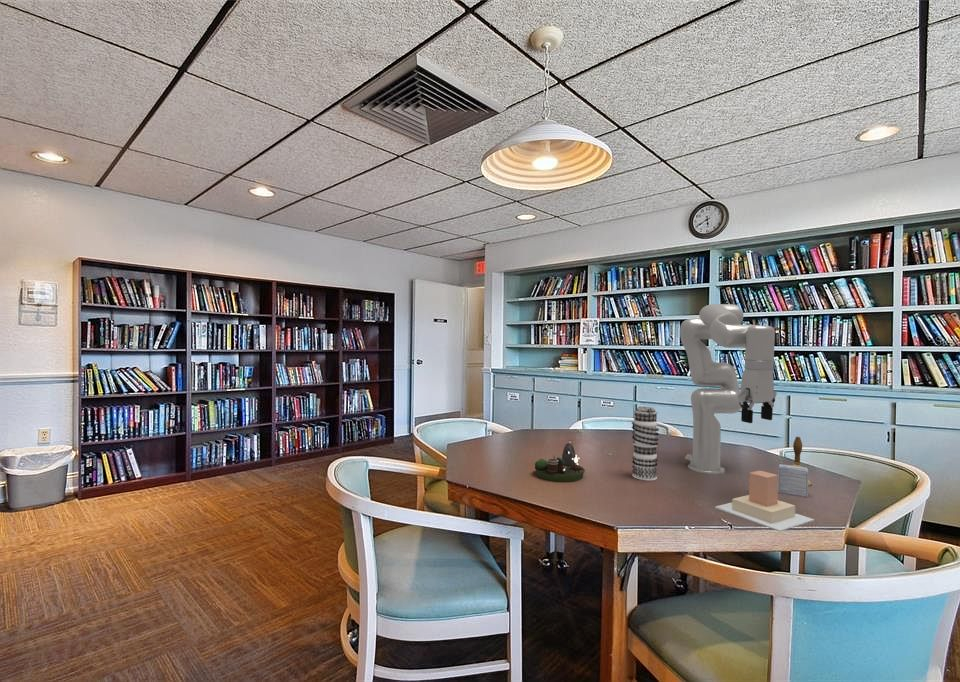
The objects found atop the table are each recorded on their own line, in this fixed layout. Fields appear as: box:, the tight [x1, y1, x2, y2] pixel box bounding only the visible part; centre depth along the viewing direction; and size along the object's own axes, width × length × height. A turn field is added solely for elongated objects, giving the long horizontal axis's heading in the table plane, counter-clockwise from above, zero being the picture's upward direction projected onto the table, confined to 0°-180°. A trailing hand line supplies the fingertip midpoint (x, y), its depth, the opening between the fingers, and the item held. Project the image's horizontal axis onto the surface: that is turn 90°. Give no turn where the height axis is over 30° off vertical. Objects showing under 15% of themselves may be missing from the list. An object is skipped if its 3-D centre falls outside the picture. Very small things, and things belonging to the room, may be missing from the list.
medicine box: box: [777, 463, 809, 498], centre depth 145 cm, size 8×4×9 cm, turn 56°
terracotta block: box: [748, 470, 779, 507], centre depth 126 cm, size 5×5×8 cm
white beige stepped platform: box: [714, 494, 815, 532], centre depth 126 cm, size 18×16×4 cm
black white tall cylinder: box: [631, 406, 660, 481], centre depth 161 cm, size 9×9×25 cm
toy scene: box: [534, 442, 586, 483], centre depth 163 cm, size 18×18×11 cm
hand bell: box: [790, 436, 812, 487], centre depth 157 cm, size 8×8×16 cm
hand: (756, 420), depth 138 cm, fingers open, 9 cm apart
